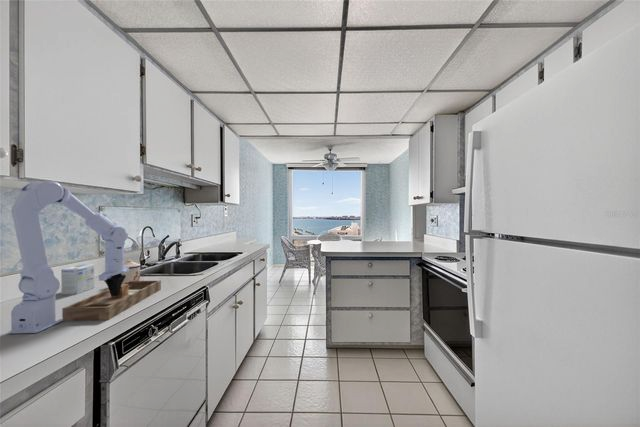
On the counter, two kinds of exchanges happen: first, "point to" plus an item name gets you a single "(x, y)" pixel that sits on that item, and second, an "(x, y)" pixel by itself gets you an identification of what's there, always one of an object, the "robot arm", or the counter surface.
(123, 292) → the block
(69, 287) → the light bulb box
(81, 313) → the track
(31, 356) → the counter surface
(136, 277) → the teacup with lid
